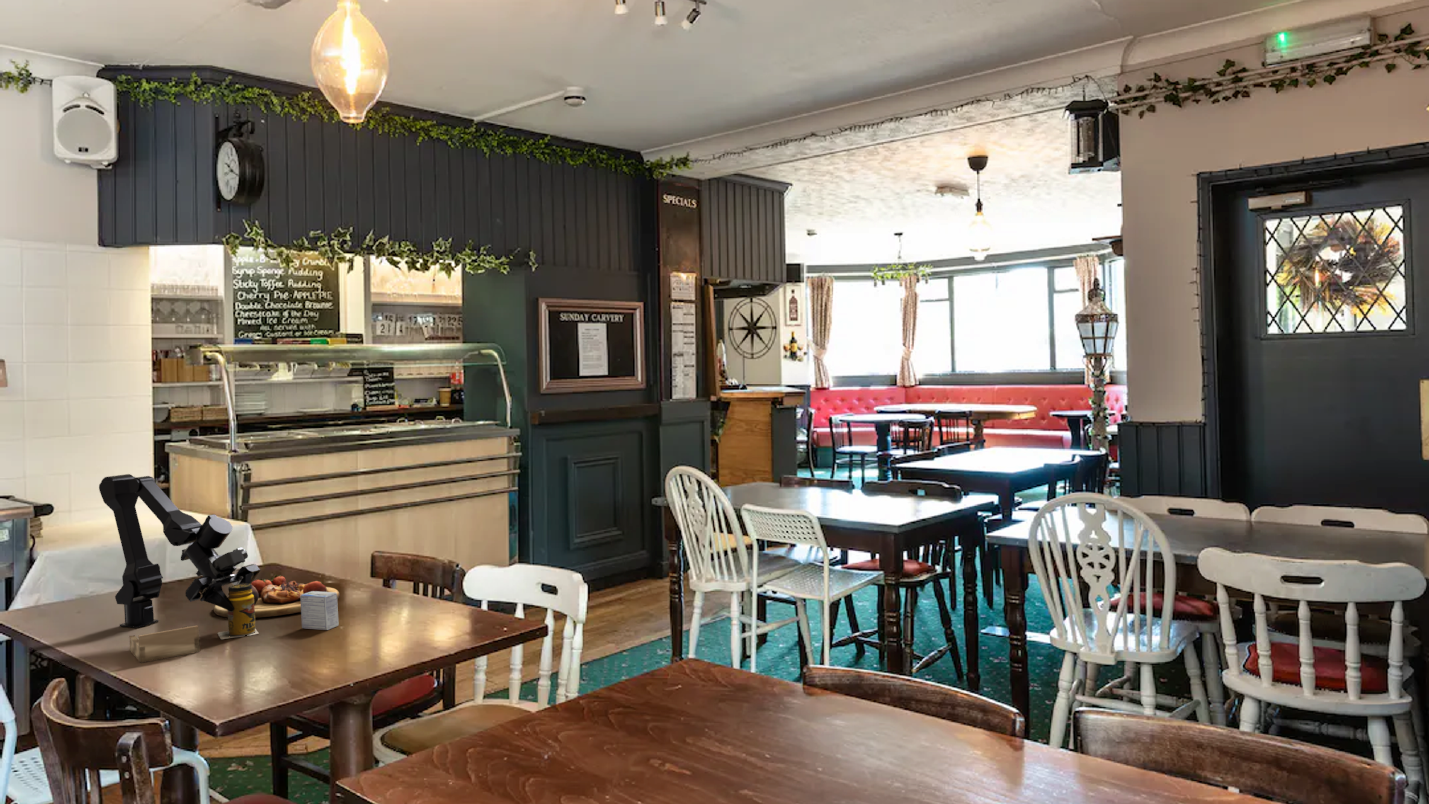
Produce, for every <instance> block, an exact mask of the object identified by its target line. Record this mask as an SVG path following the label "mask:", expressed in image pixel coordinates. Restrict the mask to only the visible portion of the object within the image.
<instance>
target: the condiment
mask: <svg viewBox="0 0 1429 804" xmlns="http://www.w3.org/2000/svg"><path fill="white" fill-rule="evenodd" d="M227 590H228V593H227V595H228V596H227V597H228V599H229V600H230V602H231V603H232V605H233V606H234V610H233V611H232V612H231V611H229V610H228V617H227V623H228V625H227V626H228V630H227V631H218V632H217V635H218V637H219V638H220V640H225V639H228V640H229V639H233V638H241V637H248V636H254V635H258V634H260V633H259V631H258V630H257V629H256V618H255V608H254V595H253V594H252V586H251V584H236V585H234V584H232V585H230V586H229V587H228V589H227ZM254 632H255V633H254ZM245 635H247V636H245ZM229 636H230V637H229Z"/></svg>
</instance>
